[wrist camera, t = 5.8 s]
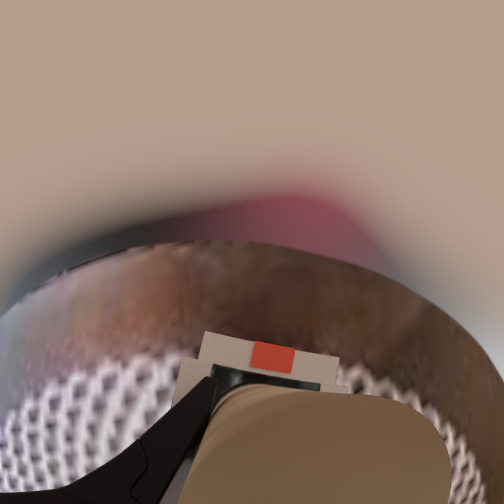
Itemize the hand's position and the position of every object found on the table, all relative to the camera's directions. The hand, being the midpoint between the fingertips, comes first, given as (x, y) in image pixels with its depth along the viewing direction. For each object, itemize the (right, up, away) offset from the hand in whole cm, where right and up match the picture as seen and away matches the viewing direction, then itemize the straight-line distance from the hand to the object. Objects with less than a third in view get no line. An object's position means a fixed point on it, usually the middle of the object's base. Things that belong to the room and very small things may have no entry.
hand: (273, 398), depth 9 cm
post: (-1, -3, +5) cm, 6 cm away
